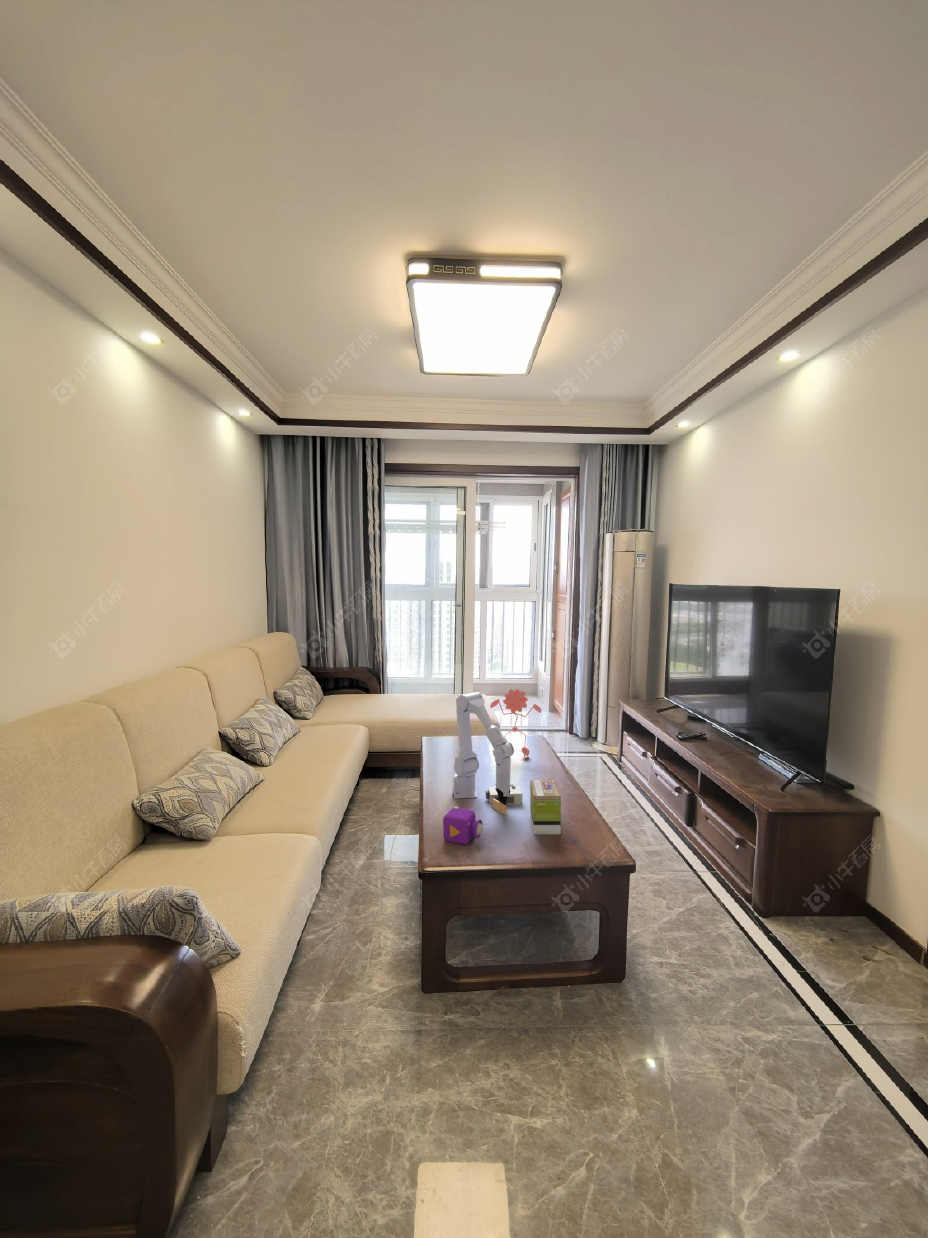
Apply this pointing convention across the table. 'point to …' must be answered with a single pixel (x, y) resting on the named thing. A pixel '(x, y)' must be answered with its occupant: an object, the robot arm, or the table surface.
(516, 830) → the table surface
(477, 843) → the table surface
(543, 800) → the tea box
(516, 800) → the white knobbed box
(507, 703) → the figurine
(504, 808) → the side door
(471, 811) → the toy camera
